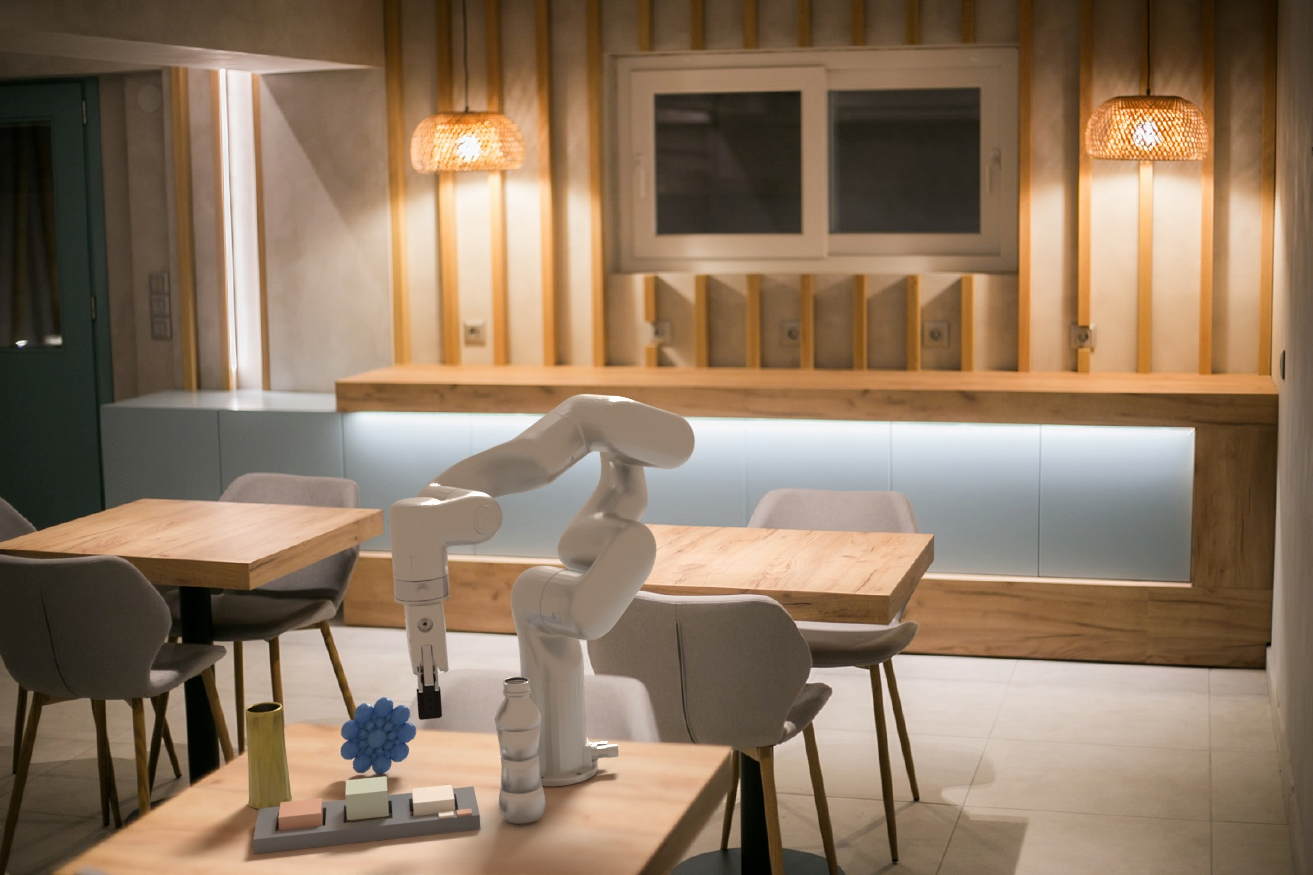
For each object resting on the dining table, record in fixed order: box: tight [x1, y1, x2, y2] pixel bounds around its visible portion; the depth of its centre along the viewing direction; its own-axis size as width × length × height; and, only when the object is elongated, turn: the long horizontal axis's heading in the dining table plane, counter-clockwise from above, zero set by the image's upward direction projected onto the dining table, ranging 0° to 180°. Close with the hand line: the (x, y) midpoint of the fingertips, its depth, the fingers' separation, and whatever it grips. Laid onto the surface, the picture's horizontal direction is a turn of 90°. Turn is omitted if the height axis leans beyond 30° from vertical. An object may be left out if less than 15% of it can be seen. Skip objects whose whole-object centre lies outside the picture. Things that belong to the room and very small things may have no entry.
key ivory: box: [411, 784, 456, 816], centre depth 201 cm, size 6×6×4 cm
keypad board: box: [252, 785, 481, 855], centre depth 199 cm, size 30×11×2 cm, turn 102°
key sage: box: [345, 776, 390, 821], centre depth 199 cm, size 6×6×4 cm
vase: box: [245, 701, 293, 810], centre depth 208 cm, size 6×6×14 cm
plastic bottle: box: [494, 676, 547, 825], centre depth 198 cm, size 6×7×20 cm
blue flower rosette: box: [340, 696, 417, 775], centre depth 219 cm, size 12×7×12 cm, turn 93°
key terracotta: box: [278, 797, 325, 830], centre depth 197 cm, size 6×6×4 cm
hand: (430, 716), depth 200 cm, fingers closed
